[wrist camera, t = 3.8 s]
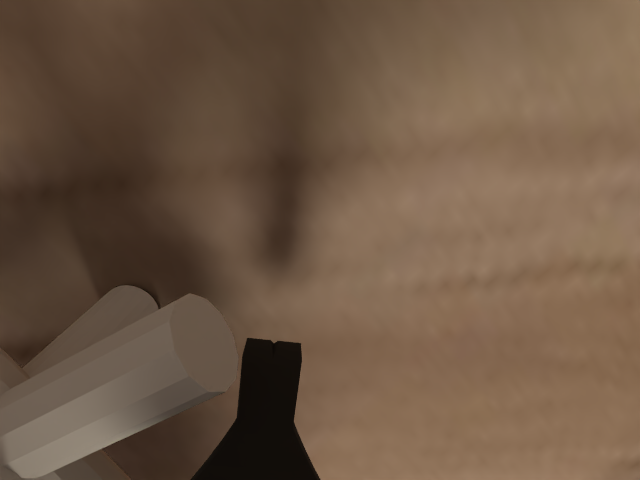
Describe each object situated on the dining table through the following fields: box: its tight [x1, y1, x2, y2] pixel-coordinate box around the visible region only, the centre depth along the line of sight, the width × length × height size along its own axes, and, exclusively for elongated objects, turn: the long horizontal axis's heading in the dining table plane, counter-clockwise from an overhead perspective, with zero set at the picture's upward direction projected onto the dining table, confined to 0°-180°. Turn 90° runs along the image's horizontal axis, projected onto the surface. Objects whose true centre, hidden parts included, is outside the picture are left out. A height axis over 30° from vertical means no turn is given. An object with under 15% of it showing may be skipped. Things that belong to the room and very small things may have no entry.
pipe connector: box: [0, 285, 239, 480], centre depth 8 cm, size 10×10×10 cm
